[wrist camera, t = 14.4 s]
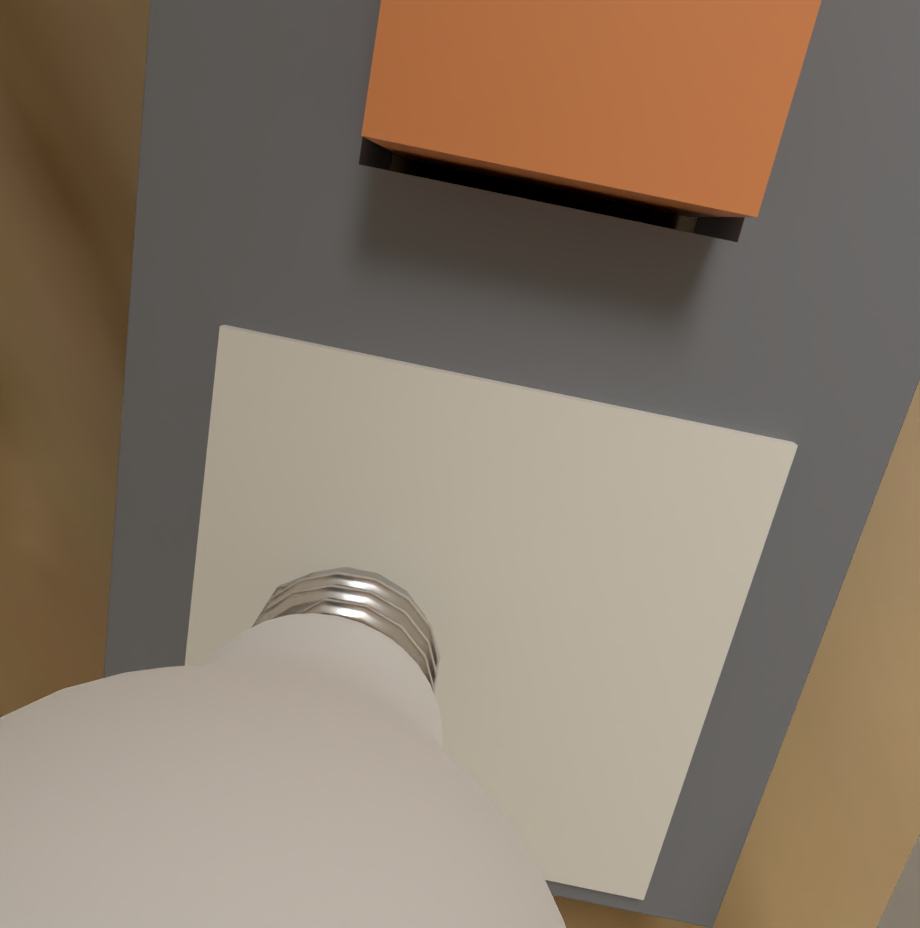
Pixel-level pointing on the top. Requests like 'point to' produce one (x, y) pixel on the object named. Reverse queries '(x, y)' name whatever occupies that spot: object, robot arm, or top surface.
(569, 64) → the button
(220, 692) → the light bulb
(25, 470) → the top surface
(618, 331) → the breaker board
